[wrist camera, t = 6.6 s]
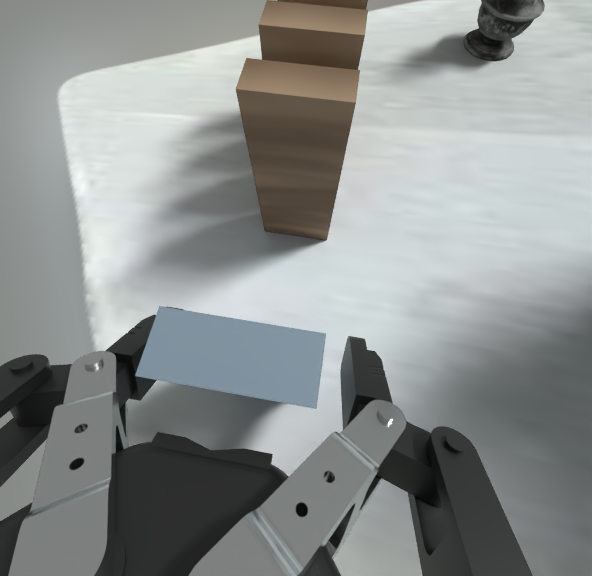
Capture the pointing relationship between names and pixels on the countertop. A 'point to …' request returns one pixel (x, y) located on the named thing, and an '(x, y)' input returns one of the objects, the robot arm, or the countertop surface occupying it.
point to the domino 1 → (312, 34)
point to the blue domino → (234, 356)
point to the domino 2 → (296, 140)
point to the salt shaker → (501, 27)
